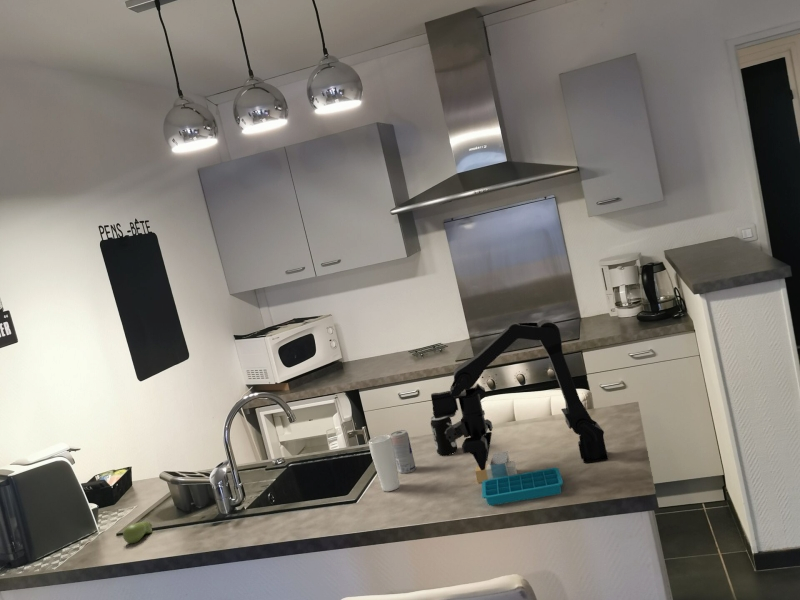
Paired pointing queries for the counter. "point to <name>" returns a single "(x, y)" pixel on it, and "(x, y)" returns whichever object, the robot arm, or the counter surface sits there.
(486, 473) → the tan-tipped white bar
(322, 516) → the counter surface
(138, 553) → the counter surface
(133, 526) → the pear
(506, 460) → the gray rectangular block
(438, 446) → the beverage can
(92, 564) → the counter surface
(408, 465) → the energy drink
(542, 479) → the ice cube tray
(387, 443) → the drinking glass
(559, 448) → the counter surface
